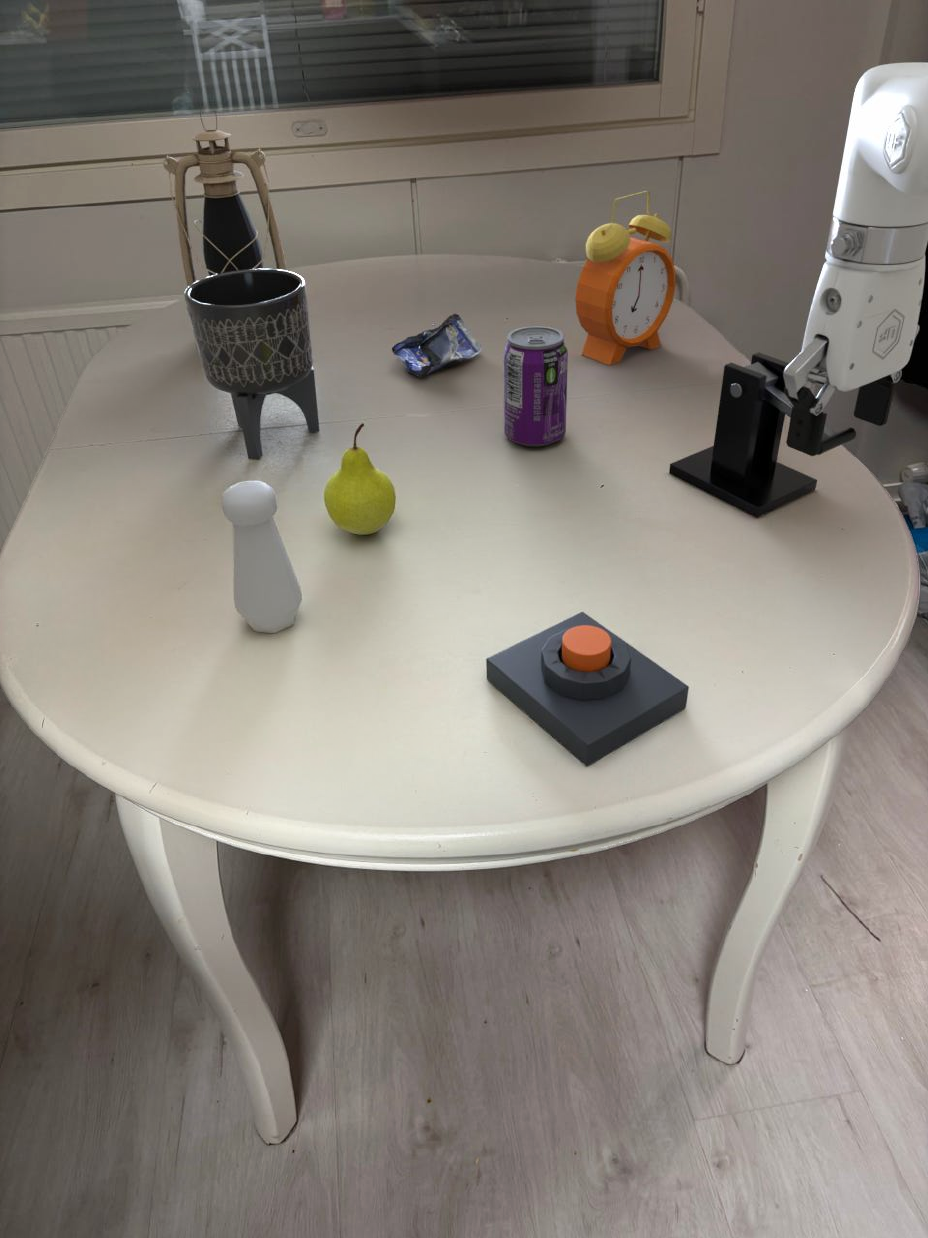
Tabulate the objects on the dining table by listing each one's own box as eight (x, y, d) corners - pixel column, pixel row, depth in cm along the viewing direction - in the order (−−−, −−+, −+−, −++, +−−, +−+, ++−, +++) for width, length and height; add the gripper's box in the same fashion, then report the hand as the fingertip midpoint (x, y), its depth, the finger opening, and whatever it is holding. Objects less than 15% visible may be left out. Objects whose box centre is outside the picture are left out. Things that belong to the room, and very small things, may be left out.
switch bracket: (815, 490, 95) (841, 371, 88) (756, 518, 91) (778, 396, 84) (726, 449, 103) (742, 336, 96) (668, 473, 99) (680, 358, 92)
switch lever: (850, 446, 88) (861, 426, 86) (816, 462, 85) (827, 442, 84) (759, 378, 93) (767, 357, 92) (724, 391, 91) (733, 370, 89)
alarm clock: (604, 369, 122) (613, 209, 110) (572, 357, 126) (577, 200, 114) (671, 343, 129) (687, 189, 117) (638, 332, 133) (650, 181, 121)
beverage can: (567, 450, 105) (571, 346, 97) (504, 452, 105) (503, 349, 98) (563, 422, 110) (566, 323, 103) (503, 424, 110) (502, 325, 103)
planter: (305, 466, 104) (280, 308, 93) (198, 459, 106) (162, 304, 96) (340, 416, 114) (321, 269, 103) (241, 411, 116) (213, 266, 106)
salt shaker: (249, 647, 78) (219, 514, 70) (231, 612, 82) (200, 483, 74) (315, 626, 80) (292, 494, 72) (293, 593, 84) (270, 465, 76)
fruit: (316, 527, 93) (299, 416, 86) (373, 504, 96) (361, 396, 89) (353, 555, 89) (337, 441, 82) (411, 531, 92) (401, 419, 85)
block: (686, 708, 70) (692, 668, 68) (586, 767, 66) (589, 726, 63) (581, 631, 78) (583, 593, 76) (486, 679, 74) (485, 640, 71)
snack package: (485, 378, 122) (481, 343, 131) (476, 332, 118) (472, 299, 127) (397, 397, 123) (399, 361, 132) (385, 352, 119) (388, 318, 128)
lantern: (194, 351, 134) (143, 117, 116) (201, 323, 143) (154, 103, 125) (296, 341, 135) (260, 110, 117) (295, 314, 144) (263, 96, 126)
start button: (619, 660, 69) (621, 642, 68) (583, 679, 68) (584, 661, 67) (587, 637, 72) (588, 619, 71) (552, 655, 70) (552, 637, 69)
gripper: (849, 271, 69) (809, 478, 79) (981, 229, 77) (929, 422, 87) (769, 252, 74) (740, 448, 84) (899, 214, 82) (859, 398, 92)
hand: (836, 435), depth 85 cm, fingers open, 9 cm apart
